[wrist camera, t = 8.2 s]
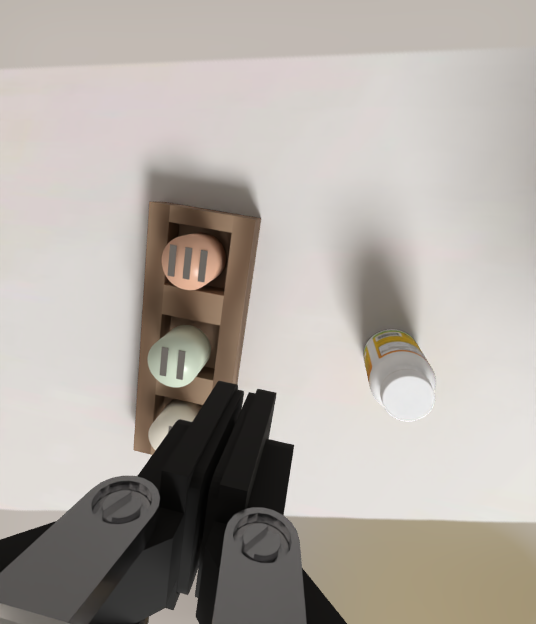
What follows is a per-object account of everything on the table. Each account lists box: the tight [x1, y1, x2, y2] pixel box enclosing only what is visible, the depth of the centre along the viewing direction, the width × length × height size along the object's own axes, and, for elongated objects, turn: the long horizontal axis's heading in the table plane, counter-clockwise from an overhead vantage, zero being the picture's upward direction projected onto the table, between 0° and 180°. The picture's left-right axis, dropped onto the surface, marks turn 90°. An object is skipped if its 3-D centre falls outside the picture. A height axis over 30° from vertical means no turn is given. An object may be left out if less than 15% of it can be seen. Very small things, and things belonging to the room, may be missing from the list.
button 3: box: [162, 232, 226, 290], centre depth 37 cm, size 5×5×4 cm
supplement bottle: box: [364, 329, 436, 421], centre depth 35 cm, size 5×5×10 cm
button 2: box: [148, 325, 211, 387], centre depth 38 cm, size 5×5×4 cm
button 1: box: [148, 399, 201, 451], centre depth 42 cm, size 5×5×4 cm
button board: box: [134, 202, 261, 455], centre depth 41 cm, size 10×27×3 cm, turn 171°
